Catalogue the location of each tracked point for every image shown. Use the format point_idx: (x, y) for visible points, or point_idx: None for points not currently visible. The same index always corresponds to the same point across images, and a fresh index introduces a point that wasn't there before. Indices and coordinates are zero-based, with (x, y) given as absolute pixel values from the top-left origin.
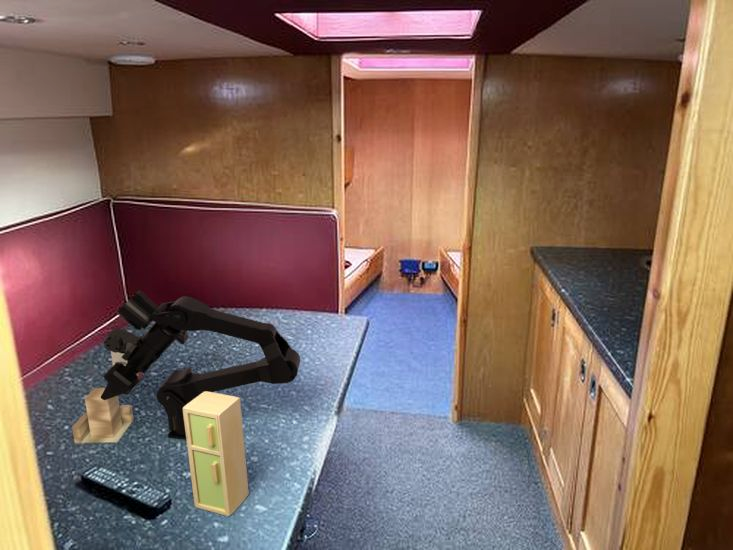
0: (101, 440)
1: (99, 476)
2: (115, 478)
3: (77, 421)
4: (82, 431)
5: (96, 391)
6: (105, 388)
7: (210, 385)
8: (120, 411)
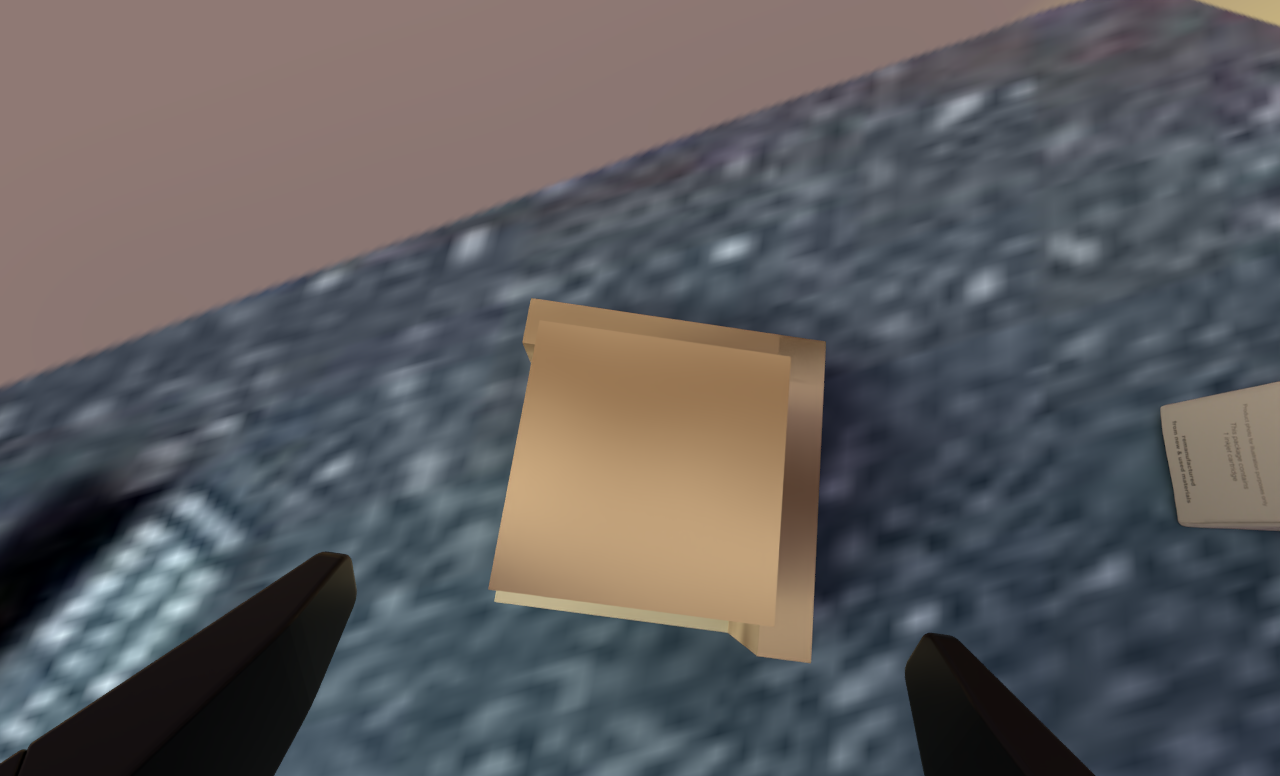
0: None
1: (116, 594)
2: (49, 710)
3: (604, 311)
4: None
5: (698, 399)
6: (35, 745)
7: None
8: None
